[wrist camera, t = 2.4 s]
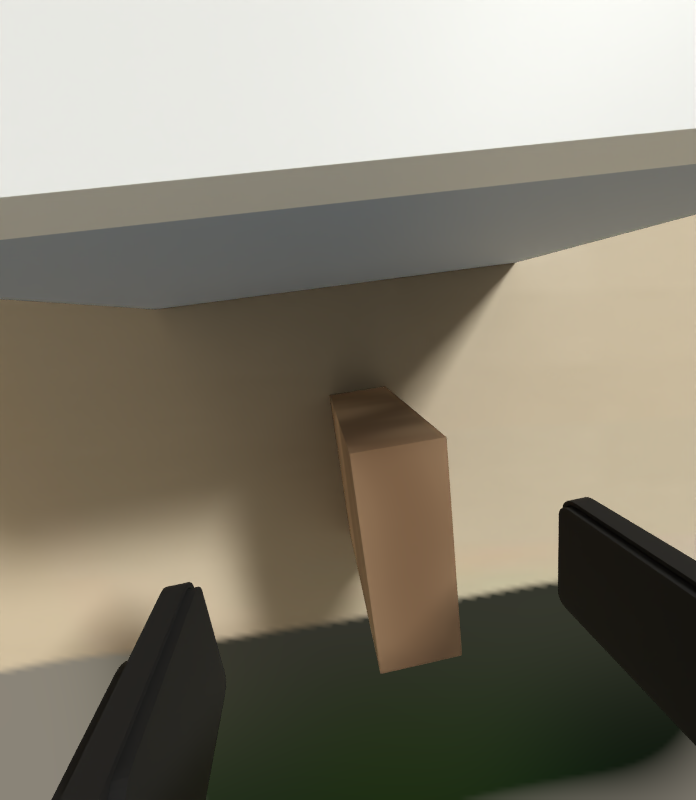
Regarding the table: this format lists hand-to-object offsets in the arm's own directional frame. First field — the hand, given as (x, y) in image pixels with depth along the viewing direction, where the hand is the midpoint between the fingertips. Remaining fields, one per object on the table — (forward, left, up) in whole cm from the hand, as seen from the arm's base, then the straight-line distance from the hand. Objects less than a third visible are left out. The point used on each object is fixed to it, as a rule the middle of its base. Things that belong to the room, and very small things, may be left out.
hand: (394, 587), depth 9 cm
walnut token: (-1, 0, -8) cm, 8 cm away
